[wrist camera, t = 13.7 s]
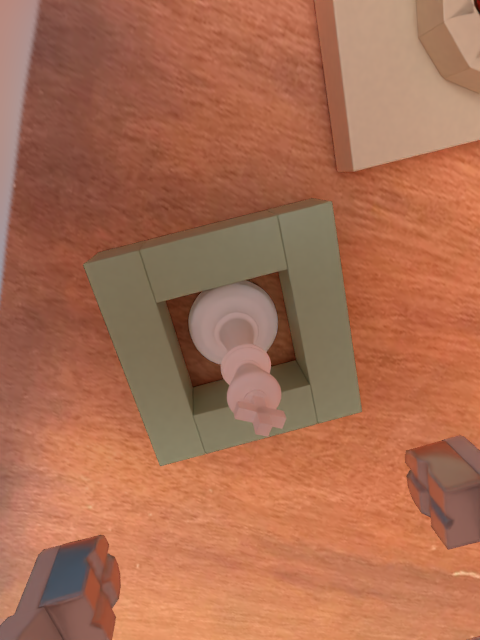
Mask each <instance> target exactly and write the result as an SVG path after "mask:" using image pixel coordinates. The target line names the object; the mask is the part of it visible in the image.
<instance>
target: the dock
mask: <svg viewBox="0 0 480 640" xmlns="http://www.w3.org/2000/svg"><path fill="white" fill-rule="evenodd" d="M83 266H84V269H85V271H86V274H87V277H88V279H89V282H90V285H91V287H92V290H93V292H94V295H95V298H96V300H97V303H98V305H99V308H100V311H101V313H102V316H103V318H104V321H105V324H106V326H107V329H108V332H109V334H110V337H111V339H112V342H113V345H114V347H115V350H116V352H117V355H118V358H119V360H120V363H121V365H122V368H123V371H124V373H125V376H126V379H127V381H128V384H129V386H130V389H131V392H132V394H133V397H134V399H135V402H136V405H137V407H138V410H139V412H140V415H141V418H142V420H143V423H144V426H145V428H146V431H147V433H148V436H149V439H150V441H151V444H152V446H153V449H154V452H155V454H156V457H157V459H158V462H159V465H160V466H163V465H167V464H171V463H174V462H178V461H182V460H185V459H189V458H193V457H197V456H200V455H204V454H205V453H206V454H208V453H211V452H215V451H219V450H223V449H226V448H230V447H234V446H237V445H241V444H245V443H249V442H252V441H256V440H260V439H263V438H267V436H262V435H257V434H255V430H254V426H253V423H251V422H247V421H242V420H237V419H235V418H234V413H233V412H232V411H231V409H230V408H229V406H228V403H227V391H228V388H229V384H228V383H226V381H225V380H224V379H222V380H219V381H215V382H211V383H207V384H204V385H200V386H196V387H193V386H192V383H191V380H190V376H189V373H188V370H187V367H186V364H185V361H184V358H183V354H182V351H181V348H180V345H179V342H178V339H177V335H176V332H175V329H174V326H173V323H172V320H171V317H170V313H169V310H168V307H167V304H166V300H170V299H174V298H178V297H182V296H186V295H190V294H194V293H197V292H201V291H205V290H209V289H213V288H217V287H221V286H225V285H228V284H232V283H236V282H240V281H244V280H248V279H252V278H256V277H259V276H263V275H267V274H271V273H275V272H278V273H279V278H280V283H281V288H282V293H283V298H284V303H285V308H286V313H287V318H288V322H289V327H290V332H291V337H292V342H293V347H294V352H295V357H296V360H294V361H290V362H287V363H283V364H279V365H275V366H272V367H271V370H270V374H271V375H272V376H273V377H274V378H275V379H276V380H277V382H278V383H279V385H280V388H281V400H280V403H279V405H278V407H277V408H276V409H277V410H282V411H284V413H285V415H286V421H285V423H284V426H283V428H282V429H280V428H275V427H272V429H271V431H270V434H269V436H268V437H271V436H274V435H278V434H282V433H286V432H289V431H293V430H297V429H300V428H304V427H308V426H312V425H315V424H317V423H318V424H319V423H323V422H326V421H330V420H334V419H337V418H341V417H345V416H349V415H352V414H356V413H360V412H362V407H361V400H360V393H359V386H358V379H357V372H356V365H355V358H354V351H353V344H352V337H351V330H350V323H349V316H348V309H347V302H346V295H345V288H344V281H343V274H342V267H341V260H340V253H339V246H338V239H337V232H336V225H335V218H334V211H333V204H332V201H326V200H320V199H314V198H311V199H307V200H303V201H299V202H295V203H291V204H287V205H283V206H279V207H275V208H272V209H268V210H264V211H260V212H256V213H252V214H248V215H244V216H240V217H236V218H232V219H228V220H224V221H220V222H216V223H212V224H208V225H204V226H200V227H197V228H193V229H189V230H185V231H181V232H177V233H173V234H169V235H165V236H161V237H157V238H153V239H149V240H147V241H141V242H137V243H133V244H129V245H126V246H122V247H118V248H114V249H110V250H106V251H102V252H99V253H97V254H96V255H95V256H93V257H92V258H91V259H90V260H88V261H87V262H86V263H84V264H83Z"/></svg>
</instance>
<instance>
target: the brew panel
mask: <svg viewBox="0 0 480 640" xmlns="http://www.w3.org/2000/svg"><path fill="white" fill-rule="evenodd" d="M314 3H315V11H316V18H317V26H318V33H319V40H320V48H321V55H322V63H323V70H324V77H325V85H326V92H327V100H328V107H329V114H330V122H331V129H332V137H333V144H334V151H335V159H336V166H337V172H355V171H359V170H363V169H367V168H371V167H375V166H379V165H383V164H387V163H391V162H395V161H399V160H403V159H407V158H411V157H415V156H419V155H423V154H427V153H431V152H435V151H439V150H443V149H447V148H450V147H454V146H458V145H462V144H466V143H470V142H474V141H478V140H480V11H479V8H478V5H477V1H476V0H314Z"/></svg>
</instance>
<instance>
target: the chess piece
mask: <svg viewBox="0 0 480 640" xmlns="http://www.w3.org/2000/svg"><path fill="white" fill-rule="evenodd" d="M188 326H189V332H190V336H191V338H192V341H193V343H194V345H195V347H196V348H197V350H198V351H199V352H200V353H201V354H202V355H203V356H204V357H205V358H207V359H208V360H210V361H212V362H214V363H216V364H219V365H221V374H222V377H223V379H224V380H225V381H226V383H228V384H229V388H228V391H227V403H228V406H229V408H230V409H231V411H232V412H233V413H234V418H235V419H237V420H242V421H247V422H251V423H253V426H254V430H255V434H257V435H262V436H267V437H268V436H269V434H270V431H271V429H272V427H275V428H280V429H282V428H283V426H284V423H285V421H286V415H285V413H284V411H282V410H277V409H276V408H277V407H278V405H279V403H280V400H281V388H280V385H279V383H278V382H277V380H276V379H275V378H274V377H273V376H272V375H271V374H270V370H271V361H270V358H269V356H268V354H267V353H266V352H267V351H268V349H269V348H270V347H271V345H272V344H273V342H274V340H275V337H276V334H277V329H278V317H277V312H276V308H275V305H274V303H273V301H272V299H271V298H270V296H269V295H268V294H267V293H266V292H265V291H264V290H263V289H262V288H261V287H259V286H258V285H256V284H254V283H252V282H249V281H246V280H244V281H240V282H236V283H232V284H228V285H225V286H221V287H217V288H213V289H209V290H205V291H202V292H201V293H200V294H199V296H198V297H197V298H196V300H195V301H194V303H193V305H192V307H191V310H190V313H189V319H188Z"/></svg>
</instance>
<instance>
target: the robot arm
mask: <svg viewBox="0 0 480 640" xmlns="http://www.w3.org/2000/svg"><path fill="white" fill-rule="evenodd" d="M405 463H406V464H407V466H408V467H409V468H410V471H409V473H408V474H407V483H408V488H409V491H410V494H411V497H412V499H413V500H414V502H415V504H416V506H417V507H418V509H419V510H420V512H421V513H423V514H425V515H427V516H429V517H431V527H432V528H433V530H434V531H435V533H436V534H437V535H438V537H439V538H440V539H441V541H442V542H443V544H444V545H445V546H446V548H447V549H452V548H456V547H460V546H464V545H468V544H472V543H476V542H480V450H478V449H477V448H476V447H475V446H474V445H473V444H472V443H471V442H470V441H468V440H467V439H466V438H465V437H464V436H461V435H458V436H455V437H451V438H448V439H444V440H442V441H438V442H434V443H431V444H427V445H424V446H420V447H417V448H413V449H410V450H406V453H405ZM108 548H109V544H108V542H107V540H106V538H105V536H104V535H98V536H94V537H90V538H86V539H82V540H78V541H74V542H70V543H66V544H63V545H60V546H56V547H52V548H48V549H44V550H43V551H42V552H41V553H40V554H39V555H38V557H37V560H36V562H35V565H34V567H33V570H32V572H31V575H30V577H29V579H28V582H27V584H26V587H25V589H24V592H23V594H22V597H21V599H20V602H19V604H18V607H17V609H16V612H15V614H14V615H13V616H10V617H7V619H6V620H5V621H4V622H3V623H2V624H1V625H0V640H112V637H113V631H114V625H115V619H116V616H115V614H114V612H113V610H112V608H113V606H114V605H115V603H116V602H117V600H118V599H119V594H120V587H121V584H120V571H119V567H118V563H117V561H116V559H115V557H114V556H112V555H110V554H108ZM468 640H480V636H477V637H474V638H471V639H468Z"/></svg>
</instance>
